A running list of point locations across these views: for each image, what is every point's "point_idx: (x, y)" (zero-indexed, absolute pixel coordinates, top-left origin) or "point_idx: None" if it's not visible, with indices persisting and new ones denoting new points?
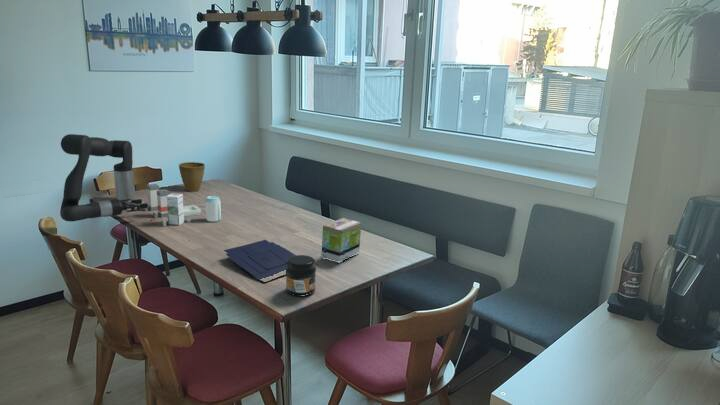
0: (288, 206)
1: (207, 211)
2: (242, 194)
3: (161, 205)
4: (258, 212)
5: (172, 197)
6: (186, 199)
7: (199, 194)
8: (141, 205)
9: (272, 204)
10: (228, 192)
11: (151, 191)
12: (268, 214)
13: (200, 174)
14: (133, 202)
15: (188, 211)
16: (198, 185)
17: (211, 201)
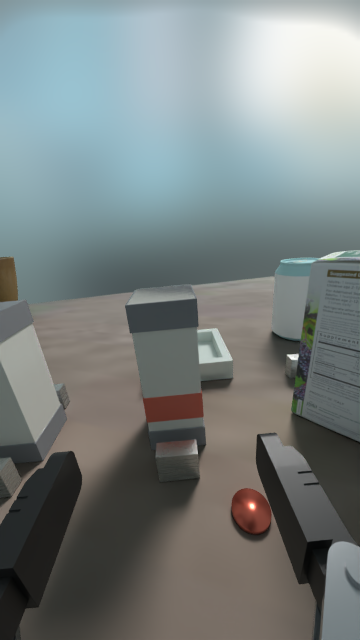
0: (224, 282)
1: None
2: (118, 298)
3: (200, 381)
4: (245, 295)
5: None
6: (47, 345)
7: (43, 327)
8: (342, 523)
9: (204, 287)
10: (87, 305)
11: (3, 349)
12: (263, 291)
13: (15, 279)
14: (15, 600)
15: (226, 347)
16: None
17: None
